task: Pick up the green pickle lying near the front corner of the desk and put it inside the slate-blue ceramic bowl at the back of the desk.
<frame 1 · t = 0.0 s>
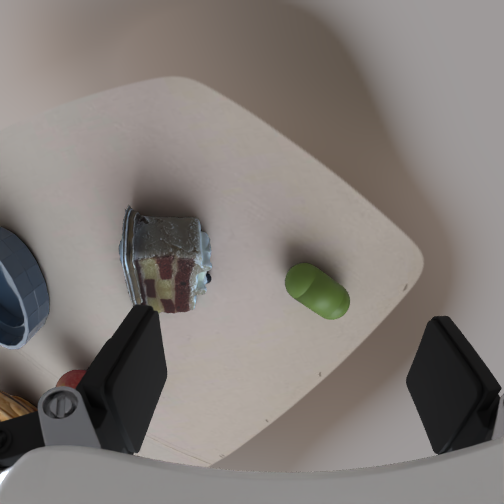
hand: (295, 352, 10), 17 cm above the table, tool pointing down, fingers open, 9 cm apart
ceramic bowl: (32, 415, 42), on the table
fruit: (97, 378, 35), on the table
bowl: (10, 279, 30), on the table
layered cake slice: (175, 265, 28), on the table
pickle: (316, 283, 28), on the table
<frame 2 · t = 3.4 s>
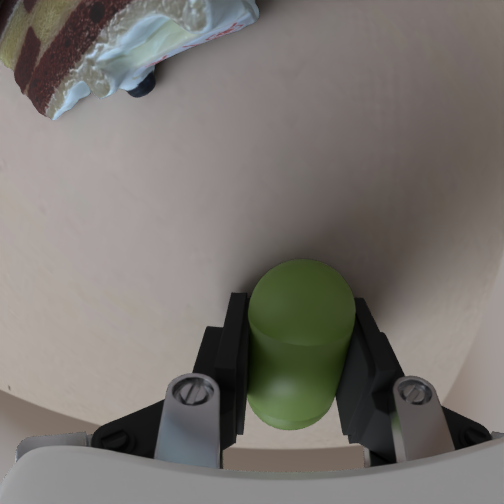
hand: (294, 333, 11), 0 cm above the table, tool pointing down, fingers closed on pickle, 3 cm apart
layered cake slice: (127, 13, 8), on the table
pickle: (302, 326, 11), on the table, tilted 11°, touching gripper
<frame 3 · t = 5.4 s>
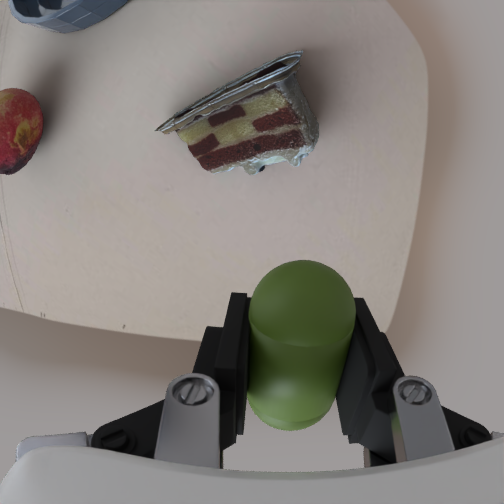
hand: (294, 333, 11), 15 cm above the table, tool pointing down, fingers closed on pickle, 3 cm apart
fruit: (33, 129, 23), on the table
layered cake slice: (248, 127, 23), on the table
pickle: (302, 327, 11), point 15 cm above the table, tilted 11°, touching gripper
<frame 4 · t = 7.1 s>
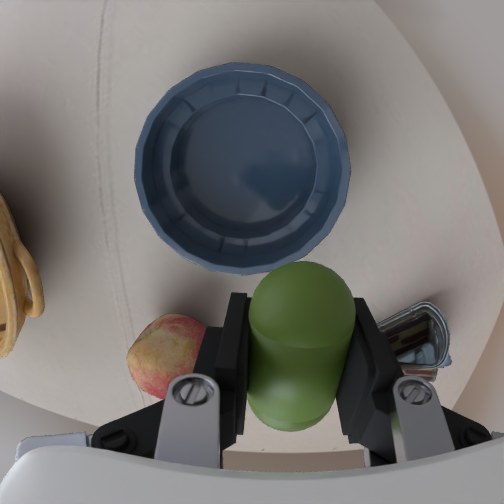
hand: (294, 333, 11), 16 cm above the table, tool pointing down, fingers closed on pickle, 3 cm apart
fruit: (184, 330, 30), on the table
bowl: (244, 164, 24), on the table
layered cake slice: (388, 347, 30), on the table
pickle: (302, 328, 11), point 15 cm above the table, tilted 11°, touching gripper
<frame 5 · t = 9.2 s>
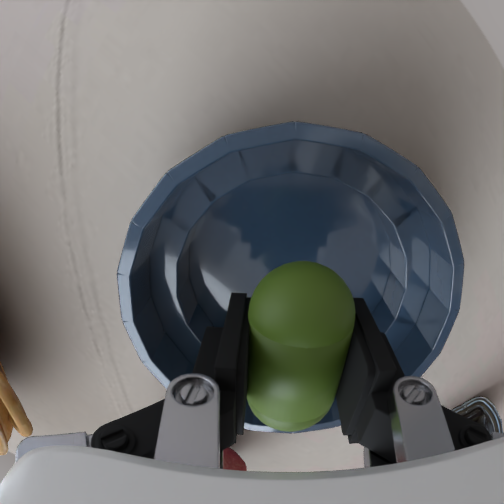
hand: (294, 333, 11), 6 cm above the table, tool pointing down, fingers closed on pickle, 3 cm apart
fruit: (204, 439, 23), on the table
bowl: (291, 269, 16), on the table
layered cake slice: (432, 438, 22), on the table
pickle: (302, 328, 11), point 5 cm above the table, tilted 11°, touching gripper
when the fingers open (2 cm above the table, at t = 11.6 s): pickle stays where it is and tips over, resting on bowl.
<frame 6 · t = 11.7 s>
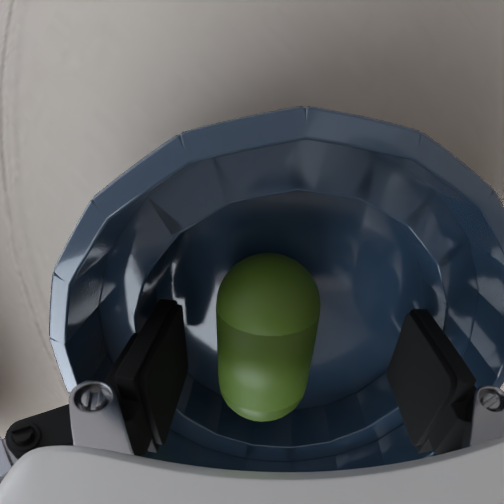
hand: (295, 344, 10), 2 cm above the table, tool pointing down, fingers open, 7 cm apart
bowl: (291, 314, 12), on the table
pickle: (296, 327, 11), point 1 cm above the table, tilted 45°, touching bowl
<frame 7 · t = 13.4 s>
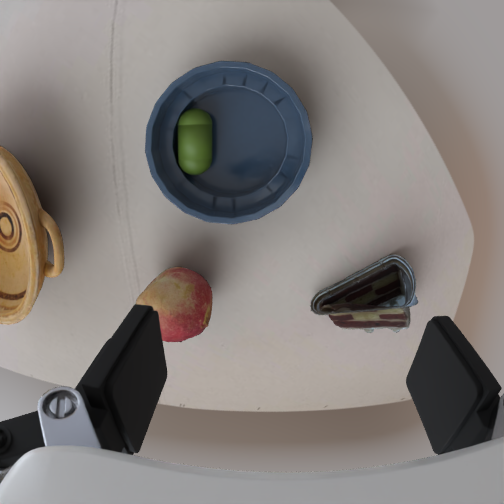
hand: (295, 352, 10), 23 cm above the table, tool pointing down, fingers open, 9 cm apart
ceramic bowl: (10, 218, 33), on the table
fruit: (184, 285, 36), on the table
bowl: (231, 140, 30), on the table
layered cake slice: (364, 299, 36), on the table
pickle: (207, 141, 27), point 3 cm above the table, tilted 125°, touching bowl
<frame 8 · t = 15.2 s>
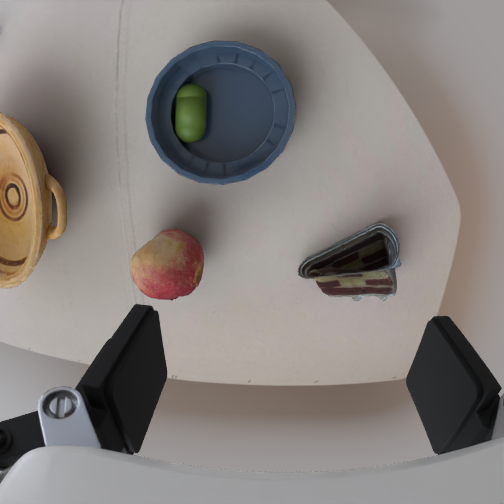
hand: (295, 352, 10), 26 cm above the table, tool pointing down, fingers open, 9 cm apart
ceramic bowl: (18, 189, 36), on the table
fruit: (178, 250, 38), on the table
bowl: (224, 113, 31), on the table
layered cake slice: (352, 267, 37), on the table
pickle: (201, 111, 29), point 3 cm above the table, tilted 125°, touching bowl
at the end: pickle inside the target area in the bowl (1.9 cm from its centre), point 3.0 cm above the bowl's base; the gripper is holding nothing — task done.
